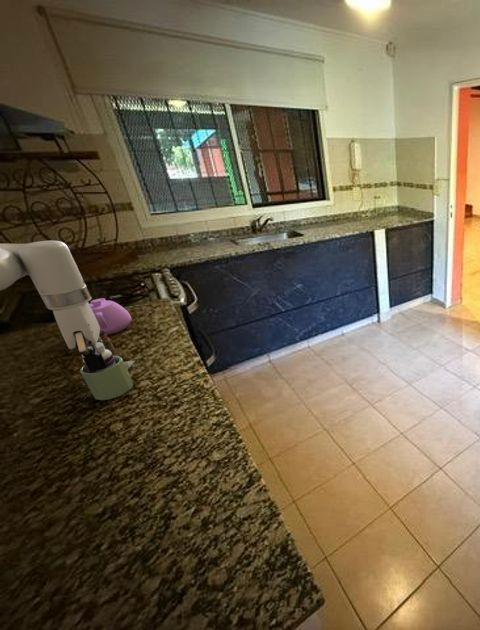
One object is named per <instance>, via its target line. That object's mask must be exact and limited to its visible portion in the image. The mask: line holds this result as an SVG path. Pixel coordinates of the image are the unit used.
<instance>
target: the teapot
mask: <svg viewBox="0 0 480 630" xmlns="http://www.w3.org/2000/svg"><path fill="white" fill-rule="evenodd" d="M89 305H90V307H91V309H92V311H93V313H94V315H95V317H96V319H97V321H98V324H99V327H100V329H101V330H104V332H105V334H106V335H107V336H109V335H113V334H115V333H119V332H121V331H123V330H125V329H126V328H128V327H129V326H130V324H131V322H132V316H131V314H130V312H129V311H128V310H127V309H125V308H124V307H123V306H122V305H120V304H119V303H117V302H116V301H113V300H109V299H107V300H106V298H105V297H99V298H96V299H93V300H90V302H89Z"/></svg>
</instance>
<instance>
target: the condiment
mask: <svg viewBox="0 0 480 630" xmlns="http://www.w3.org/2000/svg"><path fill="white" fill-rule="evenodd" d="M99 335H100V337H101V339H102V342H104V344H105V347H106V349H107V350H109V351H111V353H112V355H113V356H119V355H118V353H117V351H116V349H115V347H114V344H113V342H112V340H111V339H110V338H109V337H108V335H106V334H105V332H104V330H101V329H100V333H99ZM102 342H101V343H102ZM86 344H87V343H86ZM123 362H124V364H125V366H126V368H127V370H129V369H130V368H131V367H132V365H134V363H135V362H136V360H128V361H123Z"/></svg>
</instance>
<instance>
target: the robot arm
mask: <svg viewBox="0 0 480 630" xmlns="http://www.w3.org/2000/svg"><path fill="white" fill-rule="evenodd" d="M25 276H29V277H30V279H31V281H32V282H33V284H34V286H35V289H36V291H37V292H38V294H39V297H40V298H41V300H42V301H43V303H44V305H45V307H46V309H48V310H51V311H52V312H53V316H54V319H55V321H56V323H57V327H58V329H59V331H60V333H61V336H62V337H63V340H64V342H65V344H66V346H67V348H68V349H69V350H74V349H76V347H77V349H78V352H79V354H80V355H81V357H82V360H83V359H84V361H85V363H86V365H87V367H88V369H89V371H90V372H94V371H97V370H101V369H105V368H107V364H106V362H105V360H104V358H103V356H102V354H101V353H100V354H99V352H98V349H97V347H96V344H95V343H97V342H102V339H101V337H100V335H99V333H100V327H99V324H98V321H97V319H96V317H95V315H94V313H93V311H92V309H91V307H90V305H89V304H90V302H91V301H92V296H91V293H90V291H89V289H88V287H87V284H86V283H85V280H84V279H83V278H84V277H83V276H82V274H81V272H80V269H79V268H78V265H77V263H76V261H75V259H74V256H73V255H72V253H71V250H70V248H69V247H68V245H67V244H66V243H65V242H63V241H60V240H41V241H33V242H28V243H0V291H4V290H5V289H8V288H9V287H10V286H12V285H13V284H14V283H15V282H16V281H18V280H19V279H21V278H23V277H25ZM86 343H87V344H86ZM102 343H103V345H104V347H105V344H104V342H102ZM90 346H92V348H93V350H92V349H89V348H88V347H90ZM105 349H106V347H105Z"/></svg>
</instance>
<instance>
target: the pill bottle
mask: <svg viewBox="0 0 480 630" xmlns="http://www.w3.org/2000/svg"><path fill="white" fill-rule="evenodd" d="M95 344H96V347H97V349H98V352H99V354H100V353H101V354H102V356H103V358H104V360H105V362H106V364H107V368H105V369H101V370H97V371H94V372H90V371H89V369H88V367H87V365H86V363H85V361H84V359H83V358H82V362H83V364H84V365H85V366H86V368H87V370H88V372H89V373H95V372H99V371H103V370H106V369H108V368H111V367H112V366H114V365H116V362H115V360H114V357H113V355H112V353H111V351H109V350H107V349H105V347H104V345H103V343H101V342H97V343H95ZM88 348H89V349H92V350H93V348H92V346H90V347H88Z"/></svg>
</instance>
